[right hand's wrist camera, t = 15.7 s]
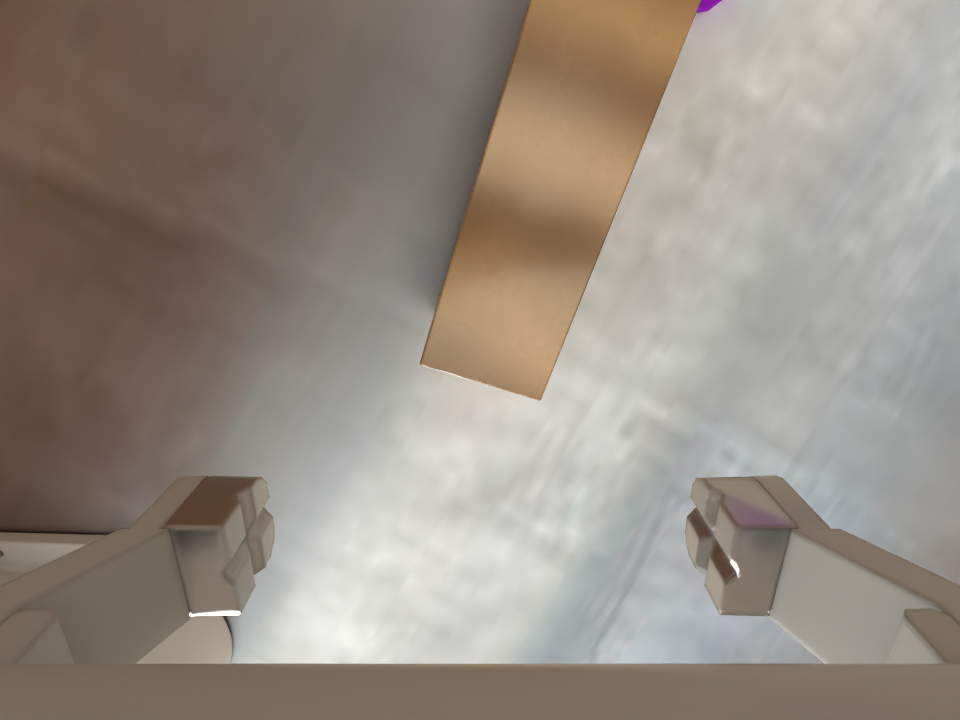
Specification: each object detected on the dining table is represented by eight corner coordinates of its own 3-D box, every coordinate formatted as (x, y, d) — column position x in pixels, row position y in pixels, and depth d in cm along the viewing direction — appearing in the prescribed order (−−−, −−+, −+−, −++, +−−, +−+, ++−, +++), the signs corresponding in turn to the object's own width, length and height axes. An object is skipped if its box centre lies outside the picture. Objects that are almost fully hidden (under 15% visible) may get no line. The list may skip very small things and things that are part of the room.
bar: (525, 341, 33) (540, 401, 25) (434, 313, 32) (419, 365, 24) (689, -97, 25) (788, -216, 17) (574, -146, 24) (620, -294, 16)
